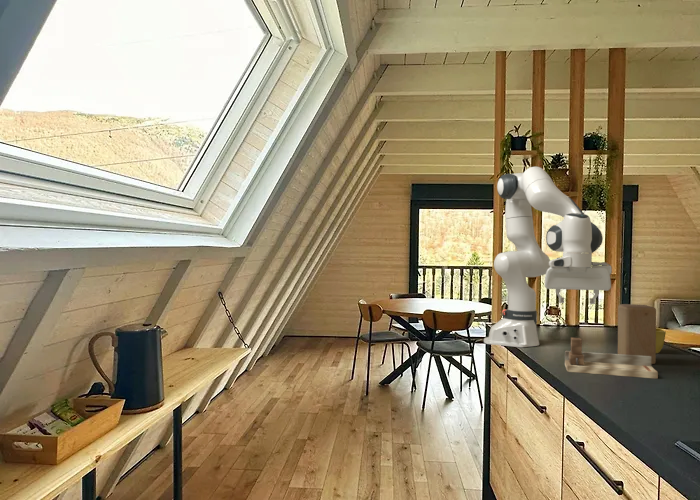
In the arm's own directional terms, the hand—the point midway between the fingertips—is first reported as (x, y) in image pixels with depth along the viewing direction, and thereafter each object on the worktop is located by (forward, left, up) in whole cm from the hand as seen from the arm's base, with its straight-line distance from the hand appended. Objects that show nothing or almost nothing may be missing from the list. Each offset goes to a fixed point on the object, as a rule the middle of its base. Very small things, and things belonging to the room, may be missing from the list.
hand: (576, 303), depth 172 cm
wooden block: (+22, +22, -22) cm, 38 cm away
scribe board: (+10, +1, -22) cm, 24 cm away
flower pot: (+31, +43, -22) cm, 57 cm away
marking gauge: (0, 0, -20) cm, 20 cm away
